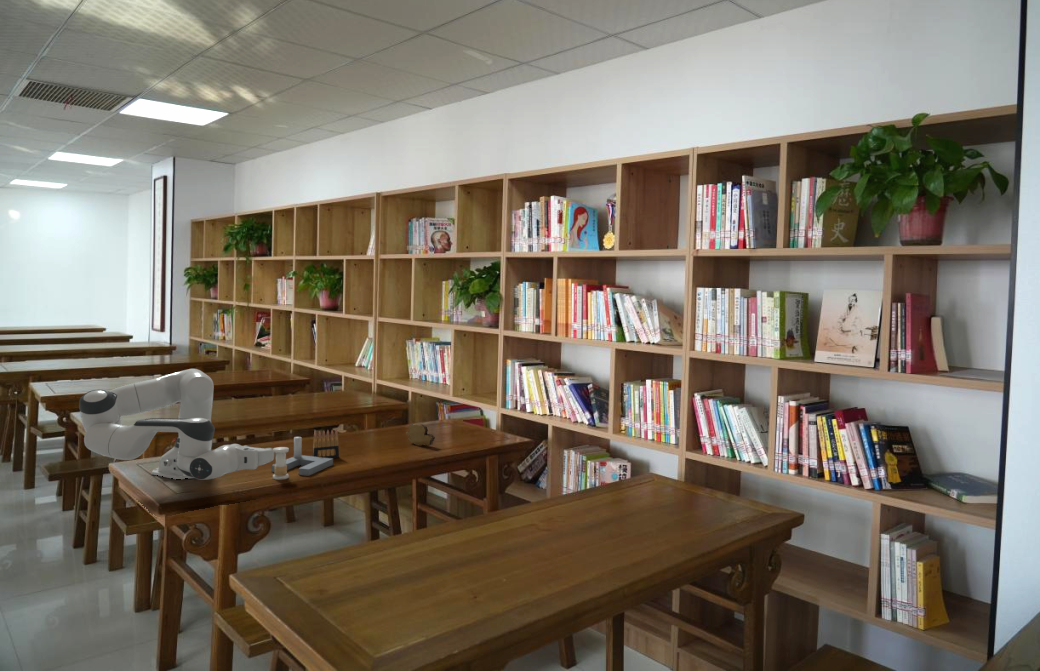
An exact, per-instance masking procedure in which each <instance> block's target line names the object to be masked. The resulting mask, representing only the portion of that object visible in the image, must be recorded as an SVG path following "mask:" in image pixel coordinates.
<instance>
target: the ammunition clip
mask: <svg viewBox="0 0 1040 671" xmlns="http://www.w3.org/2000/svg"><path fill="white" fill-rule="evenodd" d="M339 447H340V446H339V433H338V429H335V432H334V430H333V429H331V432H330V431H329V429H327V431H326V432H325V429H323V430H322V433H321V430H318V433H317V431H316V430H314V434H313V441H312V455H311V456H313V457H323V458H332V459H339V458H340V453H339V452H340V450H339Z"/></svg>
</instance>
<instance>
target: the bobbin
mask: <svg viewBox="0 0 1040 671" xmlns="http://www.w3.org/2000/svg"><path fill="white" fill-rule="evenodd" d="M272 449H273V450H274V454H275V464H276V465H275V471H274V472H273V474H272V479H273V480H276V481H282V480H283V481H284V480H287V479H289V478H290V476H289V473H288V470H287V465H286V459H287V453H289V449H290V448H289V447H287V446H279V447H274V448H272Z"/></svg>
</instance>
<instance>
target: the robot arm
mask: <svg viewBox="0 0 1040 671" xmlns="http://www.w3.org/2000/svg"><path fill="white" fill-rule="evenodd" d="M214 384H215V383H214V381H213V379H212V378H211V377H210V376H209V375H207V374H206V373H205V372H203V371H202V370H200V369H197V368H189V369H184V370H181V371H177V372H173V373H170V374H165V375H163V376H160V377H156V378H151V379H147V380H142V381H137V382H132V383H129V384H126V385H122V386H118V387H116V388H113V389H109V390H107V389H106V390H105V389H93V390H90V391H87V392H86V393H84V394H83V395H82V396H80V398H79V401H78V402H79V403H78V409H79V412H80V418H81V420H80V421H81V424H82V426H83V428H84V432H85V433H84V436H83V437H84V438H83V442H84V446H85V447H86V449H88V450H89V451H91V452H93V453H95V454H98V455H101V456H104V457H107V458H111V459H116V460H120V461H131V460H134V459H137V458H139V457H140V456H141V455H143V454H144V453H145V452H146V451H147V449H148V448H149V447H150V444H151V442H152V440H153V439H154V437H155V436H156V434H157V433H160V432H161V433H178V437H175V438H172V441H171V442H172V443H174V446H173V447H172V448H171V449H169V450H168V451H166V452H165V453H164V454H163V455H162V456H160V459H159V462H158V467H156V468H154V469H153V470H152V471H151V475H154V476H157V475H158V477H162V476H163V477H164V478H167V479H171V478H173V479H172V480H176V479H181V480H185V478H188V479H196V480H199V481H205V480H213V479H215V478H217V479H218V478H220V477H222V476H225V474H230V473H233V472H238V471H242V470H243V471H245V470H246V471H247V470H248V471H249V470H250V471H251V470H256V469H258V467H260V466H263V465H265V464H268V463H271V462H272V461H274V459H275V453H274V450H273V448H272V447H266V448H263V447H262V448H261V447H253V446H250V445H246V444H245V445H241V444H238V443H231V444H223V445H220V446H219V447H217V448H215V449H213V439H214V435H215V430H216V427H215V426H214V424H213V423H212V411H213V402H214V389H215V388H214V386H215V385H214ZM177 403H180V404H179V412H178V418H173V417H172V418H167V417H165V418H164V417H163V418H162V417H161V418H160V417H159V418H156V417H155V418H152V417H151V418H149V417H148V418H141V419H138V420H136V421H135V422H134V424H131V425H125V424H122V423H121V422H122V420H121V417H124V416H126V417H127V416H132V415H137V414H143V413H146V412H151V411H155V410H160V409H164V408H166V407H169V406H171V405H174V404H177ZM163 477H162V478H163Z"/></svg>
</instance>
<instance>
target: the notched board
mask: <svg viewBox="0 0 1040 671" xmlns="http://www.w3.org/2000/svg"><path fill="white" fill-rule="evenodd" d="M302 442H303V438H302V437H301V436H294V437H293V456H292V457H289V458H286V465H287V471H289V470H291V469H294V468H295V467H298V466H300V465H301V466H300V467H299V468H298V475H300V476H305V477H306V476H308V477H309V476H311V475H313V474H316V473H318V472H320V471H322V470H324V469H326V468H329V467H332V466H333V465H334V458H323V457H313V456H312V455H303V453H302V452H303V451H302V449H303V447H302V446H303V443H302ZM275 465H276V463H273V464H272V465H271V472H272V473H274V471H275Z"/></svg>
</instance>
